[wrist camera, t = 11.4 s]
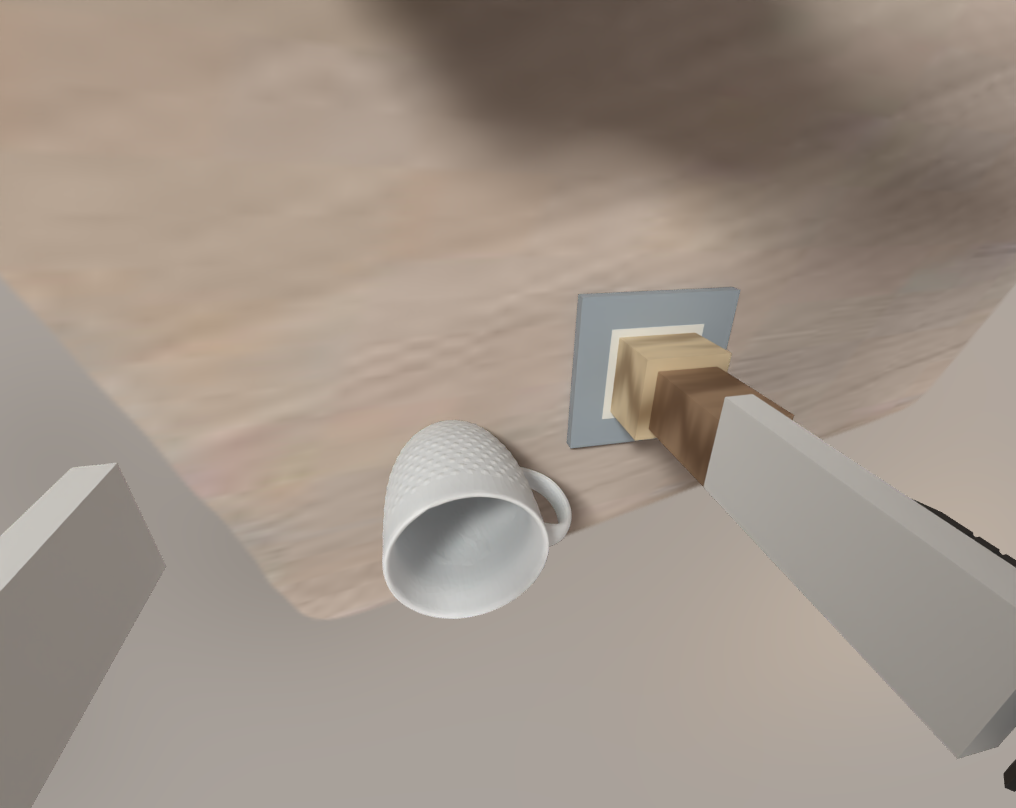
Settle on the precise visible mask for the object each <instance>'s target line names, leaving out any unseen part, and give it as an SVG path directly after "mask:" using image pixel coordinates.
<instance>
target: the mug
mask: <svg viewBox="0 0 1016 808" xmlns="http://www.w3.org/2000/svg"><path fill="white" fill-rule="evenodd" d="M531 489H533V490H535V491H537V492H539V493H540V494H541V495H543V496H544V497H545V498H546V499H547V500H548V501H549V502H550V503H551V505H552V506H553V508H554V510H555V512H556V514H557V518H558V524H550V523H545V522H544V521H543V518H542V516H541V513H540V510H539V507H538V504H537V502H536V500H535V498H534V495H533V492H532V490H531ZM571 520H572V512H571V507H570V504H569V501H568V499H567V497H566V496H565V494H564V492H563V491H562V490H561V488H560V487H559V486H558V485H557V484H556V483H555V482H554V481H553V480H551V479H550V478H548V477H547V476H545V475H543V474H541V473H539V472H536V471H534V470H531V469H527V468H524V467H519V465H518V463H517V461H516V460H515V459H514V458H513V456H512V454H511V452H510V451H508V450H507V449H506V447H505V445H503V444H502V443H501V442H500V441H499V440H498V439H497V438H496V437H494V436H493V435H492V434H491V433H490V432H488V431H486V430H485V429H484V428H482V427H479V426H478V425H476V424H472V423H469V422H466V421H460V420H445V421H440V422H437V423H434V424H431V425H429V426H427V427H425V428H424V429H422V430H420V431H419V432H418V433H417V434H415V435H414V436H413V437H412V438H411V439H410V440H409V441H408V442H407V443H406V445H405V447H403V448H402V450H401V453H400V454H399V456H398V457H397V459H396V463H395V464H394V466H393V469H392V472H391V474H390V477H389V483H388V485H387V493H386V496H385V506H384V519H383V557H382V565H383V573H384V577H385V581H386V583H387V586H388V588H389V589H390V591H391V592H392V594H393V595H394V596H395V597H396V598H397V599H398V600H399V601H400V602H401V603H402V604H404V605H405V606H406V607H408V608H410V609H412V610H414V611H416V612H418V613H421V614H424V615H427V616H432V617H437V618H450V619H457V618H458V619H459V618H468V617H474V616H478V615H482V614H486V613H489V612H491V611H494V610H496V609H498V608H501V607H502V606H504V605H506V604H508V603H510V602H511V601H513V600H515V599H516V598H517V597H519V596H520V595H521V594H523V593H524V592H525V591H526V590H527V589H528V588H529V587H530V586H531V585H532V584H533V583H534V582H535V581H536V579H537V578H538V577H539V575H540V573H541V571H542V570H543V568H544V566H545V563H546V561H547V557H548V553H549V547H550V546H553V545H555V544H557V543H558V542H560V541H561V540H562V539H563V538H564V537H565V535H566V534H567V532H568V530H569V528H570V524H571Z"/></svg>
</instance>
